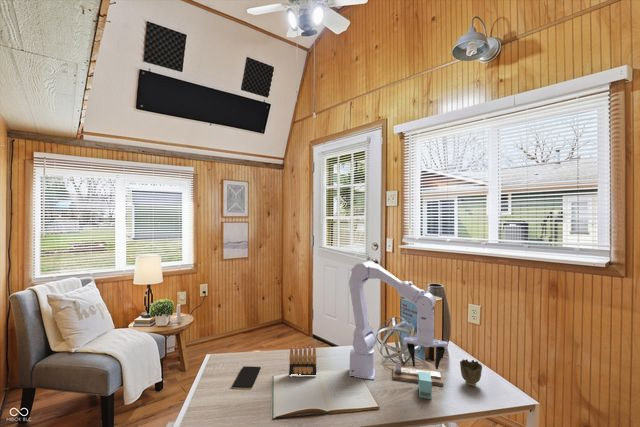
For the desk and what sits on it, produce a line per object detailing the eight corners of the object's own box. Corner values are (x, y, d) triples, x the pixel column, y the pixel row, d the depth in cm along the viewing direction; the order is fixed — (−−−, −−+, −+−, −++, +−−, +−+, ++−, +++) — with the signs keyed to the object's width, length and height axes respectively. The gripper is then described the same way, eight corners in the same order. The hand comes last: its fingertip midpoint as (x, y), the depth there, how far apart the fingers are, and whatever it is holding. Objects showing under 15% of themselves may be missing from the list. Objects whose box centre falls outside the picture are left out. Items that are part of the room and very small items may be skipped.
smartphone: (231, 386, 112) (243, 366, 127) (231, 389, 112) (243, 368, 127) (252, 387, 112) (261, 366, 127) (252, 390, 112) (261, 369, 127)
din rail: (394, 373, 121) (394, 369, 121) (394, 367, 126) (394, 363, 126) (441, 379, 117) (441, 375, 117) (439, 373, 122) (439, 368, 122)
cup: (460, 388, 114) (460, 366, 114) (459, 378, 121) (459, 357, 121) (483, 392, 111) (483, 370, 111) (480, 382, 118) (480, 360, 118)
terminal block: (419, 398, 108) (419, 380, 108) (418, 387, 114) (418, 371, 114) (431, 400, 107) (431, 382, 107) (429, 389, 113) (429, 372, 113)
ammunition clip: (288, 377, 121) (289, 346, 121) (289, 374, 122) (289, 344, 122) (316, 377, 121) (316, 346, 121) (316, 374, 123) (316, 344, 123)
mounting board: (393, 379, 120) (393, 376, 120) (393, 368, 128) (393, 365, 128) (443, 386, 115) (443, 382, 115) (440, 374, 124) (440, 371, 124)
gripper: (404, 330, 108) (404, 369, 108) (449, 334, 105) (448, 374, 105) (404, 323, 115) (403, 360, 115) (446, 327, 112) (445, 365, 112)
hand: (425, 366), depth 111 cm, fingers open, 7 cm apart
